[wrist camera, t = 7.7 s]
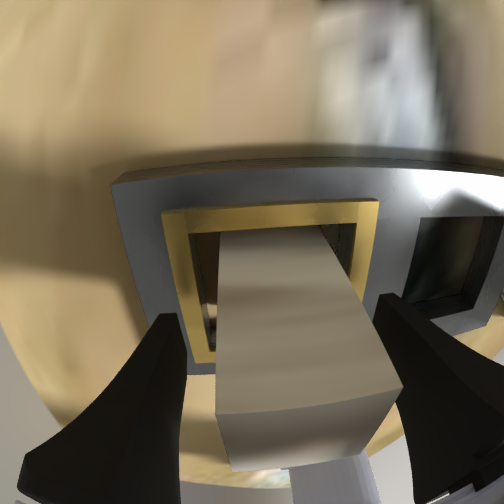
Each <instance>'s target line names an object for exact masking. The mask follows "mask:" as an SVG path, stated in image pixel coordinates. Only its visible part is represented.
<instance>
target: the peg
mask: <svg viewBox="0 0 504 504" xmlns="http://www.w3.org/2000/svg"><path fill="white" fill-rule="evenodd" d="M402 389H403V385H402V383H401V381H400V379H399V377H398V374H397V372H396V370H395V368H394V366H393V364H392V362H391V360H390V358H389V356H388V354H387V351H386V349H385V347H384V345H383V343H382V341H381V339H380V337H379V335H378V333H377V331H376V329H375V328H374V326H373V324H372V322H371V320H370V318H369V316H368V314H367V312H366V310H365V308H364V306H363V304H362V303H361V301H360V299H359V297H358V295H357V293H356V291H355V290H354V288H353V286H352V284H351V282H350V280H349V279H348V277H347V275H346V273H345V271H344V270H343V268H342V266H341V264H340V263H339V261H338V259H337V257H336V256H335V254H334V252H333V250H332V249H331V247H330V245H329V243H328V242H327V240H326V238H325V237H324V235H323V233H322V232H321V230H320V228H319V227H318V226H300V227H282V228H265V229H248V230H233V231H220V250H219V273H218V299H217V333H216V394H215V415H216V418H217V422H218V425H219V429H220V432H221V435H222V439H223V442H224V445H225V449H226V452H227V455H228V458H229V461H230V464H231V467H232V470H233V472H241V471H257V470H269V469H279V468H287V467H295V466H302V465H308V464H315V463H320V462H326V461H331V460H336V459H341V458H345V457H350V456H354V455H358V454H361V452H362V451H363V449H364V448H365V447H366V445H367V444H368V442H369V441H370V440H371V438H372V437H373V435H374V434H375V432H376V431H377V429H378V428H379V426H380V425H381V423H382V422H383V420H384V419H385V417H386V415H387V414H388V412H389V411H390V409H391V407H392V406H393V404H394V402H395V401H396V399H397V397H398V396H399V394H400V392H401V390H402Z"/></svg>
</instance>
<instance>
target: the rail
mask: <svg viewBox="0 0 504 504" xmlns="http://www.w3.org/2000/svg"><path fill="white" fill-rule="evenodd" d="M110 186H111V191H112V196H113V201H114V205H115V210H116V214H117V218H118V222H119V227H120V231H121V235H122V239H123V242H124V246H125V250H126V254H127V257H128V261H129V264H130V268H131V271H132V275H133V278H134V281H135V285H136V288H137V291H138V294H139V298H140V301H141V304H142V307H143V310H144V313H145V316H146V319H147V322H148V324H149V327H151V325H152V324H153V322H154V321H155V319H156V318H157V316H158V315H159V314H160V313H177V316H178V320H179V323H180V327H181V331H182V334H183V338H184V342H185V345H186V349H187V352H188V354H187V375H206V374H216V333H217V326H212V327H211V326H210V320H209V315H208V309H207V304H206V298H205V292H204V286H203V280H202V274H201V268H200V261H199V255H198V248H197V242H196V235H195V233H204V232H217V231H230V230H244V229H258V228H273V227H288V226H304V225H321V224H340V223H341V224H340V235H339V244H338V253H337V259H338V261H339V263H340V264H341V266H342V268H343V270H344V271H345V273H346V275H347V277H348V279H349V280H350V282H351V284H352V286H353V288H354V290H355V291H356V293H357V295H358V297H359V299H360V301H361V303H362V304H363V306H364V308H365V310H366V312H367V314H368V316H369V318H370V320H371V322H372V320H373V317H374V313H375V309H376V305H377V301H378V298H379V294H386V293H395V294H396V295H398V296H399V297H402V294H403V290H404V287H405V283H406V279H407V276H408V272H409V268H410V264H411V260H412V256H413V252H414V248H415V243H416V239H417V234H418V229H419V224H420V219H421V218H425V217H464V216H485V220H484V224H483V228H482V232H481V235H480V239H479V242H478V246H477V249H476V252H475V255H474V258H473V261H472V264H471V267H470V270H469V273H468V276H467V279H466V282H465V284H464V287H463V289H462V292H461V294H459V295H454V296H450V297H445V298H440V299H435V300H429V301H424V302H418V303H413V304H410V305H411V306H412V307H414V308H415V309H416V310H418V311H419V312H420V313H421V314H423V315H424V316H425V317H427V318H428V319H429V320H430V321H432V322H433V323H434V324H436V325H437V326H438V327H440V328H441V329H442V330H444V331H445V332H447V333H448V334H449V335H451V336H454V335H458V334H461V333H464V332H468V331H471V330H474V329H477V328H480V327H483V326H486V324H487V323H488V321H489V319H490V317H491V314H492V312H493V310H494V308H495V306H496V304H497V302H498V300H499V297H500V295H501V293H502V291H503V288H504V170H500V169H493V168H486V167H478V166H470V165H462V164H453V163H443V162H431V161H419V160H403V159H384V158H350V157H309V158H274V159H253V160H237V161H224V162H211V163H200V164H190V165H181V166H172V167H164V168H156V169H148V170H141V171H134V172H128V173H123V174H122V175H121V176H120V177H119V178H118V179H117V180H115V181H114V182H113V183H112V184H111V185H110Z"/></svg>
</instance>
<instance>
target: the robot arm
mask: <svg viewBox="0 0 504 504" xmlns="http://www.w3.org/2000/svg"><path fill="white" fill-rule="evenodd" d="M372 324H373V326H374V328H375V329H376V331H377V333H378V335H379V337H380V339H381V341H382V343H383V345H384V347H385V349H386V351H387V354H388V356H389V358H390V360H391V362H392V364H393V366H394V368H395V370H396V372H397V374H398V377H399V379H400V381H401V383H402V385H403V389H402V390H401V392H400V394H399V396H398V397H397V399H396V401H395V402H396V405H397V408H398V411H399V414H400V417H401V421H402V425H403V428H404V432H405V436H406V441H407V446H408V451H409V456H410V463H411V470H412V478H413V496H414V502H415V504H427V503H429V502H431V501H433V500H435V499H437V498H440V497H442V496H444V495H446V494H448V493H449V494H450V495H449V496H446V497H445V498H442V499H440V500H438V501H436V502H434V503H432V504H504V366H503V365H501V364H499V363H496V362H494V361H492V360H490V359H488V358H486V357H485V356H483V355H481V354H479V353H477V352H476V351H474V350H472V349H471V348H469V347H467V346H466V345H464V344H463V343H461V342H459V341H458V340H457V339H455V338H454V337H452V336H451V335H449V334H448V333H447V332H445V331H444V330H442V329H441V328H440V327H438V326H437V325H436V324H434V323H433V322H432V321H430V320H429V319H428V318H427V317H425V316H424V315H423V314H421V313H420V312H419V311H418V310H416V309H415V308H414V307H412V306H411V305H410V304H409V303H407V302H406V301H405V300H403V299H402V298H401V297H399V296H398V295H396V294H395V293H386V294H379V298H378V301H377V305H376V309H375V313H374V317H373V320H372ZM187 354H188V352H187V349H186V345H185V342H184V338H183V334H182V331H181V327H180V323H179V320H178V316H177V313H160V314H159V315H158V316H157V318H156V319H155V321H154V322H153V324H152V325H151V327H150V328H149V330H148V331H147V333H146V334H145V336H144V337H143V339H142V341H141V342H140V343H139V345H138V346H137V348H136V349H135V351H134V352H133V354H132V355H131V356H130V358H129V359H128V361H127V362H126V363H125V365H124V366H123V367H122V368H121V370H120V371H119V372H118V374H117V375H116V376H115V378H114V379H113V380H112V381H111V382H110V384H109V385H108V386H107V387H106V388H105V389H104V391H103V392H102V393H101V394H100V395H99V396H98V397H97V398H96V399H95V400H94V401H93V402H92V403H91V404H90V405H89V406H88V407H87V408H86V409H85V410H84V411H83V412H82V413H81V414H80V415H79V416H78V417H77V418H76V419H74V420H73V421H72V422H71V423H70V424H68V425H67V426H66V427H65V428H63V429H62V430H61V431H60V432H58V433H57V434H56V435H54V436H53V437H52V438H50V439H49V440H47V441H46V442H44V443H43V444H41V445H40V446H38V447H36V448H35V449H33V450H32V451H30V452H28V453H27V454H25V457H24V460H23V464H22V468H21V471H20V475H19V479H18V483H17V488H18V490H19V491H20V492H21V493H23V494H24V495H26V496H28V497H30V498H32V499H33V500H35V501H37V502H39V503H41V504H181V497H180V482H179V432H180V424H181V416H182V409H183V402H184V395H185V387H186V380H187ZM280 469H282V470H285V469H289V475H290V482H291V488H292V494H293V502H294V504H381V501H380V497H379V494H378V490H377V487H376V483H375V479H374V476H373V472H372V469H371V466H370V462H369V458H368V455H367V452H366V448H364V449H363V451H362V452H361V454H358V455H354V456H350V457H345V458H341V459H336V460H331V461H326V462H320V463H315V464H308V465H302V466H295V467H287V468H280ZM15 504H25V503H22V502H20V501H18V500H16V501H15Z"/></svg>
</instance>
